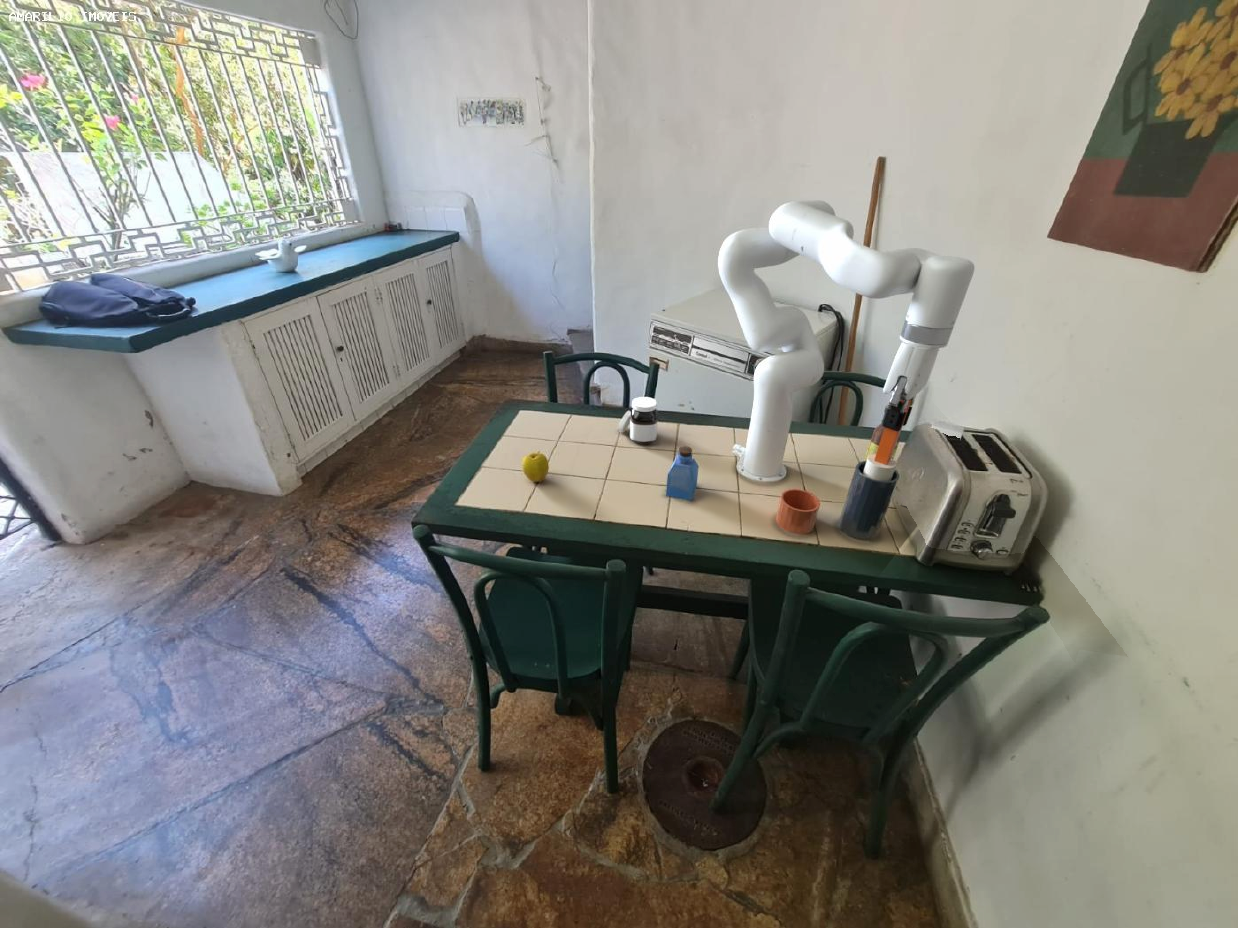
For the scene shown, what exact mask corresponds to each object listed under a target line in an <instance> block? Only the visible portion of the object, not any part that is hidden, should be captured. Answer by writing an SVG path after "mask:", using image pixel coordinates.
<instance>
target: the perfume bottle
mask: <svg viewBox="0 0 1238 928" xmlns="http://www.w3.org/2000/svg"><path fill="white" fill-rule="evenodd" d="M699 468H700V465H699V464H698V462H697V460H696V459H695V458H693V448H692V447H690V446H687V445H682V446H679V448H678V452H677V456H676V458H675V459H674V461H673V463H672V464H671V467H670V468H669V471H668V473H667V477H666V490H665V496H666V497H669V498H675V499H679V500H684V501H689V502H691V501H692V500H693V497H694V495H695V492H696V490H697V485H698V478H699V477H698V476H699V470H700V469H699Z"/></svg>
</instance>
